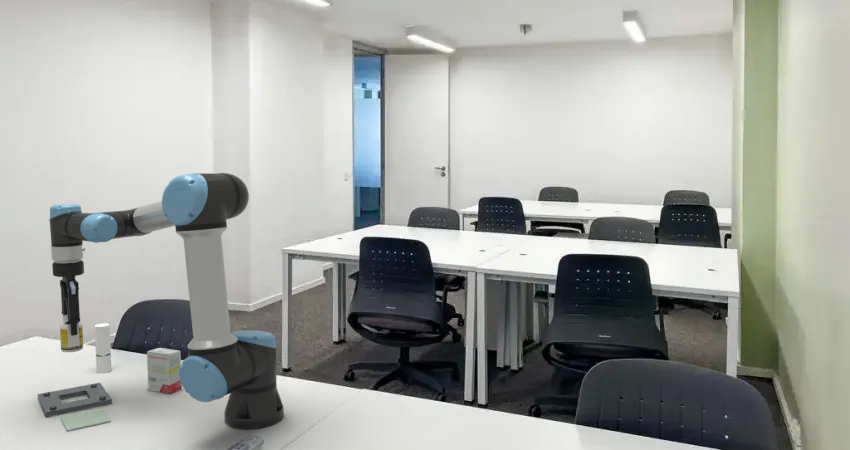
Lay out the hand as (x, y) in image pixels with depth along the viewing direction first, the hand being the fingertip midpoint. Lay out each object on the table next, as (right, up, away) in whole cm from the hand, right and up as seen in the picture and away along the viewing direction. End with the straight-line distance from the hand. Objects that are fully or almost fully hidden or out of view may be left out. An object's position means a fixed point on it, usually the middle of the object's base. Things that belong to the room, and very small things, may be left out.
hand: (72, 343), depth 178 cm
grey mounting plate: (0, -17, +2) cm, 17 cm away
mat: (+9, -18, -11) cm, 23 cm away
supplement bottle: (0, -2, 0) cm, 2 cm away
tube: (-5, -14, +27) cm, 31 cm away
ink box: (+21, -16, +12) cm, 29 cm away
